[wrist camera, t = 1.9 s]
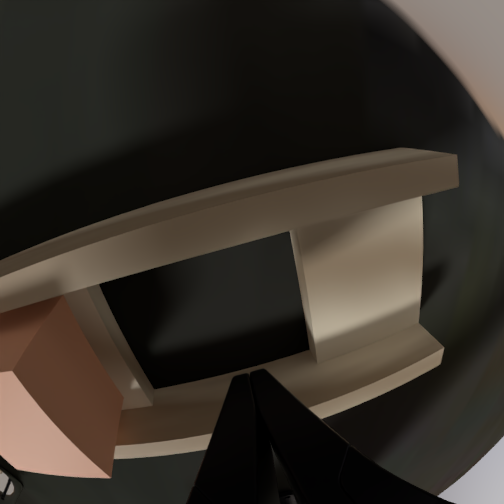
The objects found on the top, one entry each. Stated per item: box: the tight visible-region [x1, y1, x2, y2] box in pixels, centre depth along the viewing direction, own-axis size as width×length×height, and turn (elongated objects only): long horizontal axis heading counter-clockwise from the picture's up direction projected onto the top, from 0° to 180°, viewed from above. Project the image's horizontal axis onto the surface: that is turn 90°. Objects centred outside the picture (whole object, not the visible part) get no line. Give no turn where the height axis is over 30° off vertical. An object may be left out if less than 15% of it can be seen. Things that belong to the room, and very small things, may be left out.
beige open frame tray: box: [0, 147, 459, 459], centre depth 9 cm, size 8×28×3 cm, turn 103°
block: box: [0, 295, 124, 478], centre depth 8 cm, size 5×5×4 cm
